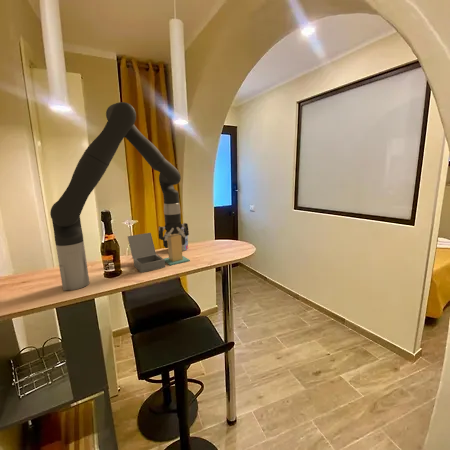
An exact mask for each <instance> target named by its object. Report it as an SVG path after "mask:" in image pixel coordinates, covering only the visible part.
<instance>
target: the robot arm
mask: <svg viewBox="0 0 450 450" xmlns="http://www.w3.org/2000/svg"><path fill="white" fill-rule="evenodd" d="M105 112H106V113H105V116H106V120H107V122H106V124H105V126H104V128H103V129H102V131H101V132H100V133H99V134H98V135H97V137H95V138H94V139H93V140H92V142H91V143H90V144H89V145H88V146H87V148H86V149H85V150H84V152H83V154H82V155H81V157H80V159H79V160H78V163H77V164H76V167H75V169H74V171H73V173H72V176H71V178H70V182H69V183H68V185H67V187H66V189H65V190H64V192H63V193H62V194H61V196H60V198H59V199H58V200H57V201H56V202H54V203H53V204H52V206H51V208H50V212H49V213H50V218H51V221H52V228H53V234H54V236H53V237H54V242H55V248H56V253H57V261H58V267H59V274H60V280H61V285H62V290H63V292H64V291H71V290H72V291H74V290H75V291H76V290H78V289H82V288H84V287H87V286H89V284H90V277H89V268H88V263H87V255H86V249H85V242H84V235H83V234H84V233H83V228H82V222H81V214H82V211H83V209H84V206H85V205H86V202H87V200H88V198H89V196H90V195H91V193H92V192H93V191H94V189H95V188H96V187H97V185H98V184H99V182H100V180H102V178H103V176H104V175H105V173H106V171H107V170H108V168H109V166H110V164H111V161H112V160H113V158H114V156H115V155H116V152H118V151H117V150H118V148H119V146H120V144H121V143H122V141H123V140H124V139H126V140H127V141H128V142H129V143H130V144H131V145H132V146H133V147H134V148H135V149H136V151H137V152H138V153H139V154H140V155H141V156H142V158H143V159H144V160H145V162H147V164H148V165H149V166H150V168H152V170H154V171H157V172H159V175H158V182H159V185H160V188H161V192H162V195H163V215H164V217H163V218H164V226H158V239H159V240H161V241H162V242H163V247H164V248H165V249H168V241H167V239H168V237H169V236H170V235H173V234H178V233H179V234H180V235H181V236H182V237H181V242H182V245H185V237H186V236H189V235H190V233H189V225H188V223H186V222H183V223H182V214H181V213H182V212H181V204H180V195H179V190H176V189H175V186H176V185H178V184H179V183H180V182H181V180H182V179H181V178H182V177H181V173H180V171H179V170H178V169H177V168H176V167H175V165H173V164H172V163H171V162H170V161H169V160H167V159H166V158H165V156H164V155H163V154H162V153H161V151H160V150H159V148H157V146H155V144H154V143H153V142H151V141H150V140H149V139H148V138H147V137H146V136H145V135H144V134H143V133H142V132H141V131H140V130H139V129H138V127H137V126H136V125H135V122H136V121H137V112H136V109H135V108H134V107H133V105H132V104H131V103H128V102H123V101H122V102H121V101H120V102H115V103H113V104H110V105H109V106H108V107H107V109H106V111H105ZM182 227H183V228H184V233H183V232H182V231H181V228H182ZM164 231H165V232H164Z"/></svg>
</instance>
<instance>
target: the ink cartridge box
mask: <svg viewBox="0 0 450 450" xmlns="http://www.w3.org/2000/svg"><path fill="white" fill-rule="evenodd" d="M181 231H182V232H183V233H184V228H183V226H182V228H181ZM178 234H179V233H178ZM179 235H180V234H179ZM188 236H189V235H188ZM188 236H186V237H185V245H182V252H183V251H184V252H185V251H187V250H188V249H189V237H188ZM181 237H182V236H181Z"/></svg>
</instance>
